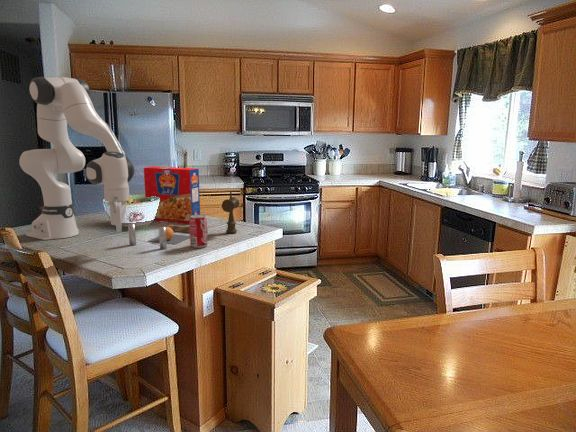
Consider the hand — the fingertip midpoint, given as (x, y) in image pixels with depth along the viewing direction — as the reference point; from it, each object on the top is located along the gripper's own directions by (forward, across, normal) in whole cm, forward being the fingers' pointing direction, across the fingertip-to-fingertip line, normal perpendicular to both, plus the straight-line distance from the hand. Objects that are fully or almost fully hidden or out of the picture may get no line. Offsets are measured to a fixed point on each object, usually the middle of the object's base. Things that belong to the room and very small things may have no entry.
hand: (119, 230), depth 164 cm
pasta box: (+11, +57, -21) cm, 62 cm away
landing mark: (+10, +19, -19) cm, 29 cm away
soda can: (+9, +4, -30) cm, 32 cm away
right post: (+9, +4, -16) cm, 19 cm away
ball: (+7, +17, -18) cm, 25 cm away
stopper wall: (+10, +30, -27) cm, 42 cm away
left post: (+10, +13, -4) cm, 16 cm away
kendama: (+10, +24, -47) cm, 54 cm away
